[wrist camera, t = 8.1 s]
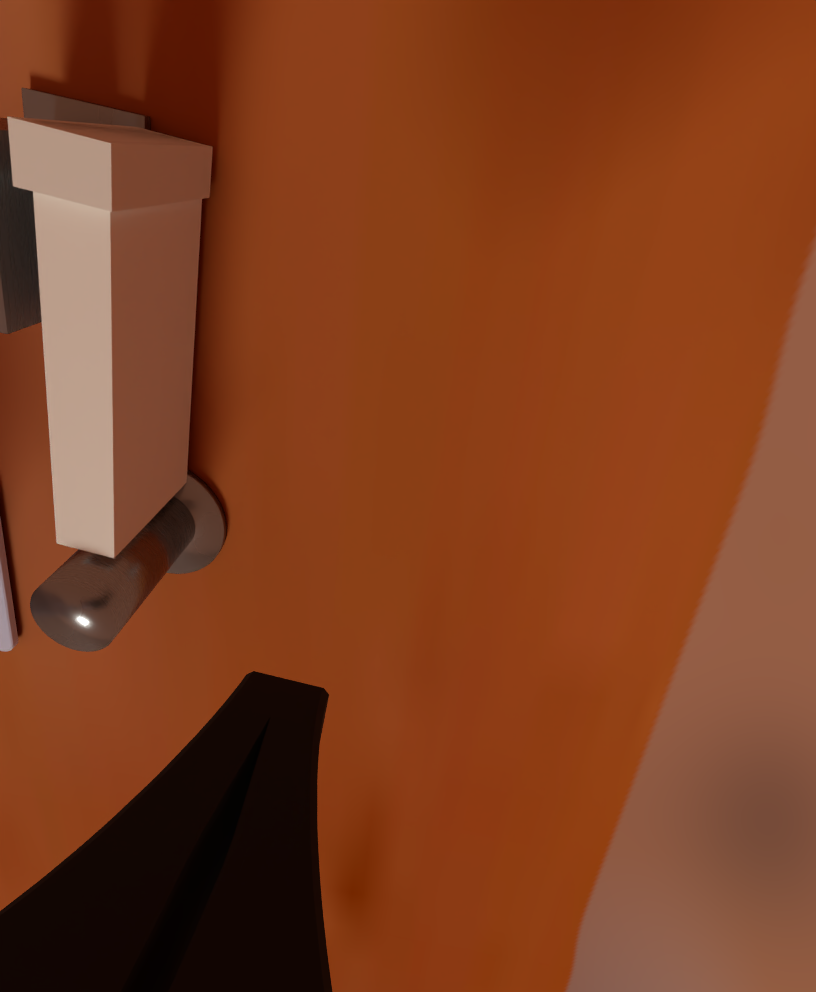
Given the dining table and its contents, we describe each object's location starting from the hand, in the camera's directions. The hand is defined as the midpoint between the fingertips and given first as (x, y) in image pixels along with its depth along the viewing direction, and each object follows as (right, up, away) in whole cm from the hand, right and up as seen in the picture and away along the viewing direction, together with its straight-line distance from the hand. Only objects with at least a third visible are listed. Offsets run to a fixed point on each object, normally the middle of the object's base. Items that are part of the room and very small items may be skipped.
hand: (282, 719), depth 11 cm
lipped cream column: (-5, +9, +8) cm, 13 cm away
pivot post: (-6, +3, +11) cm, 13 cm away
